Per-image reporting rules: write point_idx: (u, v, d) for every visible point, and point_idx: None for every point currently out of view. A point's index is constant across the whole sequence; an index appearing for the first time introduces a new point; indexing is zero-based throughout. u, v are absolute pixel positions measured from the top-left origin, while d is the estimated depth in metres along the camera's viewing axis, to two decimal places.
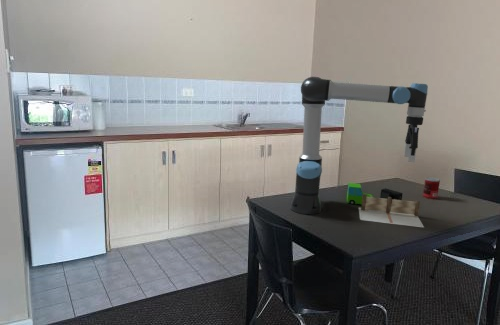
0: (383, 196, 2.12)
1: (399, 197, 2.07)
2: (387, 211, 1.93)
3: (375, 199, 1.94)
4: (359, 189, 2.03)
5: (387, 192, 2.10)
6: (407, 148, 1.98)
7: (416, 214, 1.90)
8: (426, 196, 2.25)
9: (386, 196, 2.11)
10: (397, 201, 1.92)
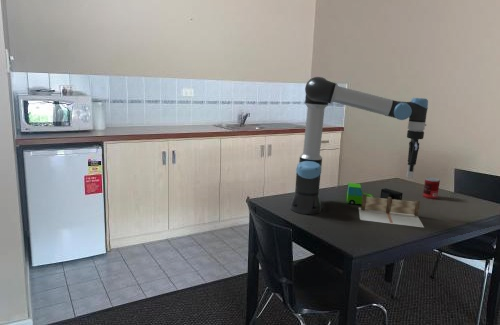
0: (383, 196, 2.13)
1: (399, 197, 2.07)
2: (387, 211, 1.93)
3: (375, 199, 1.94)
4: (359, 189, 2.03)
5: (387, 192, 2.10)
6: None
7: (416, 214, 1.90)
8: (426, 196, 2.25)
9: (386, 196, 2.11)
10: (397, 201, 1.92)
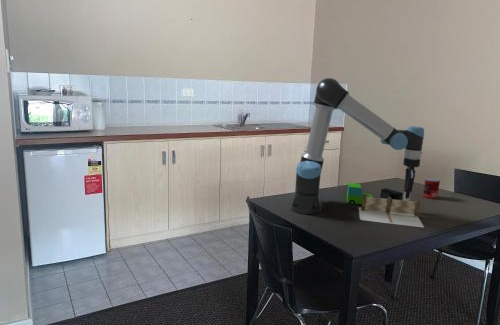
0: (383, 196, 2.13)
1: (399, 197, 2.07)
2: (387, 211, 1.93)
3: (375, 199, 1.94)
4: (359, 189, 2.03)
5: (387, 192, 2.11)
6: None
7: (416, 214, 1.90)
8: (426, 196, 2.25)
9: (386, 196, 2.11)
10: (397, 201, 1.92)
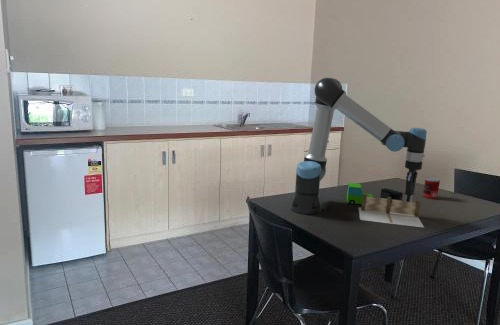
0: (383, 196, 2.13)
1: (399, 197, 2.08)
2: (387, 211, 1.93)
3: (375, 199, 1.94)
4: (359, 189, 2.03)
5: (387, 192, 2.11)
6: None
7: (416, 215, 1.89)
8: (426, 196, 2.25)
9: (386, 196, 2.11)
10: (397, 201, 1.91)
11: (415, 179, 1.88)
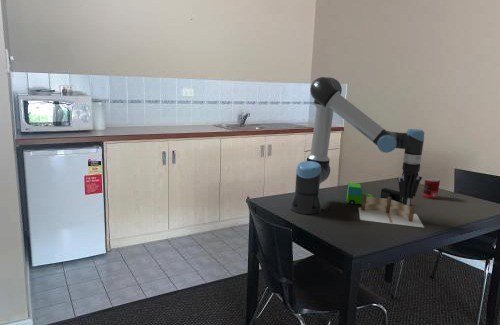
0: (383, 196, 2.13)
1: (400, 197, 2.08)
2: (387, 211, 1.93)
3: (375, 199, 1.94)
4: (359, 189, 2.03)
5: (387, 192, 2.11)
6: None
7: (409, 219, 1.82)
8: (426, 196, 2.25)
9: (386, 196, 2.12)
10: (395, 202, 1.89)
11: (413, 182, 1.82)
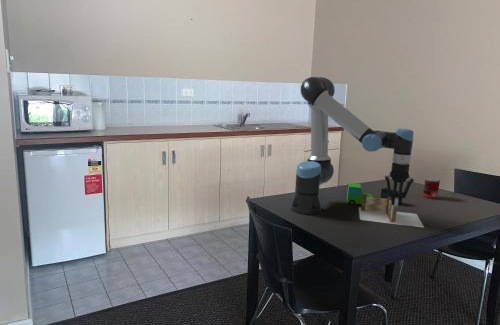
0: (383, 196, 2.13)
1: None
2: (387, 211, 1.93)
3: (375, 199, 1.94)
4: (359, 189, 2.03)
5: None
6: None
7: (391, 219, 1.81)
8: (426, 196, 2.25)
9: (387, 196, 2.12)
10: (390, 202, 1.89)
11: (400, 183, 1.80)
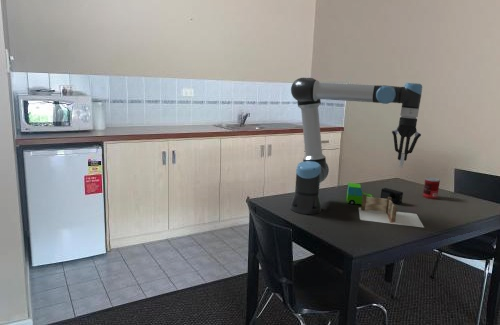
0: (384, 196, 2.13)
1: (400, 196, 2.08)
2: (387, 211, 1.93)
3: (375, 199, 1.94)
4: (359, 189, 2.03)
5: (388, 191, 2.11)
6: None
7: (391, 219, 1.81)
8: (426, 196, 2.25)
9: (387, 195, 2.12)
10: (390, 202, 1.89)
11: (407, 137, 1.80)
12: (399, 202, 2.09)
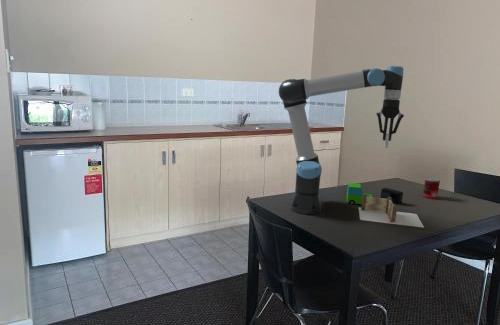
0: (384, 195, 2.14)
1: (400, 196, 2.09)
2: (387, 211, 1.93)
3: (375, 199, 1.94)
4: (359, 189, 2.03)
5: (388, 191, 2.12)
6: None
7: (391, 219, 1.81)
8: (426, 196, 2.25)
9: (387, 195, 2.12)
10: (390, 202, 1.89)
11: (391, 118, 1.89)
12: (399, 202, 2.09)
